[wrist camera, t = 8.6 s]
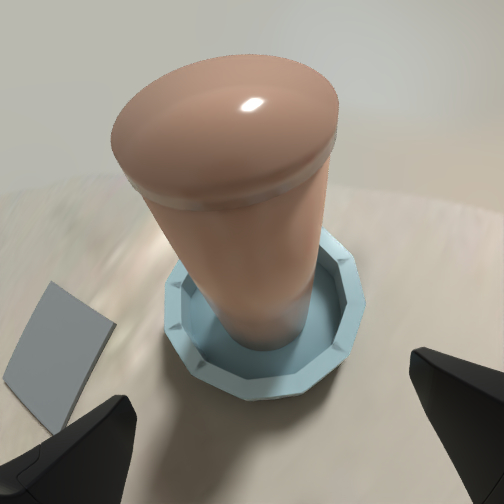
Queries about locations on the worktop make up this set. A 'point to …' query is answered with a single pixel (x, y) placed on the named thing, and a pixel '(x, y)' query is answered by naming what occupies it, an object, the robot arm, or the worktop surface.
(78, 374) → the mat
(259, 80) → the dome-capped peach post
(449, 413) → the robot arm
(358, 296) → the bowl
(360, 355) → the worktop surface
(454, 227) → the worktop surface
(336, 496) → the worktop surface
